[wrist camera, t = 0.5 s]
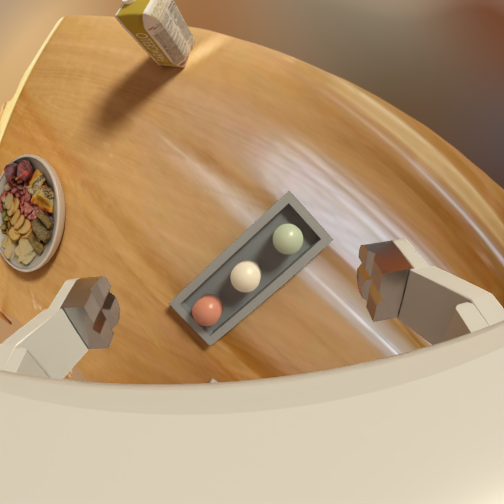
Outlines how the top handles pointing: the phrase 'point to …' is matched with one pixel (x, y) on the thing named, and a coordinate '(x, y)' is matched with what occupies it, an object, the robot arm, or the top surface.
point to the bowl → (30, 212)
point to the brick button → (207, 310)
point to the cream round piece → (246, 276)
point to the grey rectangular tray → (265, 255)
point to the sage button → (287, 238)
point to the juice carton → (158, 30)
